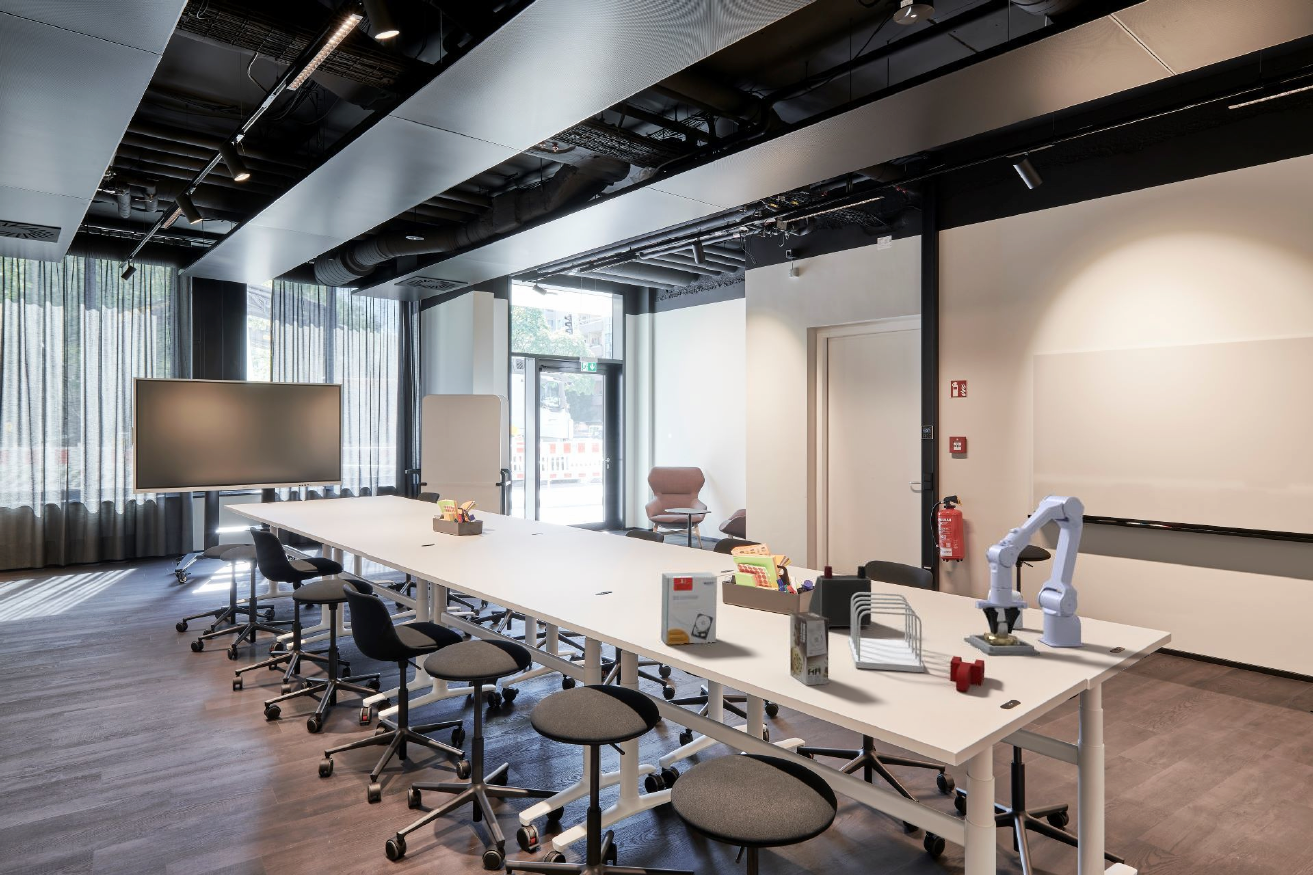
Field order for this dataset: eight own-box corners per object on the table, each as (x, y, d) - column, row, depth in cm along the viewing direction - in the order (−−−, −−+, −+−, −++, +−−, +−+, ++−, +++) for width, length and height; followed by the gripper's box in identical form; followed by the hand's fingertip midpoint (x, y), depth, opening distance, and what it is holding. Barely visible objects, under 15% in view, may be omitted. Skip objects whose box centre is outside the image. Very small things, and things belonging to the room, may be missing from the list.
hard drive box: (666, 645, 212) (666, 577, 212) (660, 638, 220) (660, 572, 220) (717, 643, 215) (717, 575, 215) (709, 636, 223) (710, 571, 223)
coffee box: (829, 683, 180) (829, 618, 180) (806, 686, 178) (806, 620, 178) (811, 672, 189) (811, 610, 189) (789, 674, 187) (789, 611, 187)
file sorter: (924, 673, 189) (924, 613, 189) (855, 669, 192) (855, 610, 192) (908, 646, 213) (909, 593, 213) (847, 643, 216) (848, 591, 216)
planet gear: (1007, 636, 217) (1008, 616, 217) (1023, 646, 208) (1024, 625, 208) (978, 636, 217) (978, 616, 217) (992, 646, 208) (993, 625, 208)
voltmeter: (855, 617, 247) (855, 558, 247) (871, 630, 231) (871, 567, 231) (808, 617, 247) (808, 558, 247) (820, 630, 230) (821, 567, 231)
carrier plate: (1013, 640, 220) (1013, 633, 220) (1040, 655, 205) (1040, 647, 205) (964, 640, 219) (964, 633, 219) (988, 655, 204) (988, 648, 204)
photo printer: (987, 626, 236) (987, 588, 236) (987, 623, 240) (988, 586, 240) (1022, 630, 231) (1022, 591, 231) (1022, 627, 235) (1022, 589, 235)
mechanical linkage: (954, 672, 190) (954, 653, 190) (984, 677, 186) (984, 658, 186) (945, 691, 176) (945, 670, 176) (977, 696, 172) (977, 675, 172)
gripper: (1018, 583, 216) (1018, 629, 216) (970, 583, 216) (970, 629, 216) (1031, 588, 209) (1031, 635, 209) (981, 588, 209) (981, 635, 209)
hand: (1001, 633), depth 212 cm, fingers closed on planet gear, 4 cm apart
